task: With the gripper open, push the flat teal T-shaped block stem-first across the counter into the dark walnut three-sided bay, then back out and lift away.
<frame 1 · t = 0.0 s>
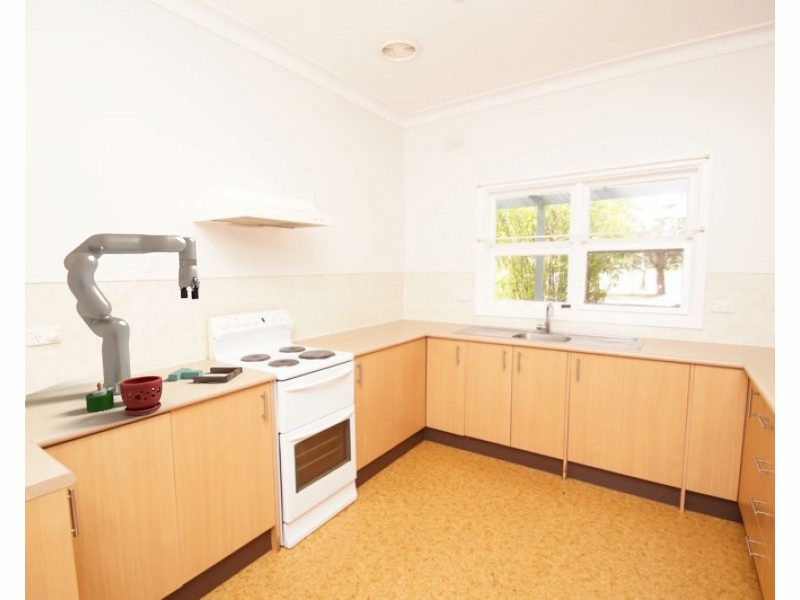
hand: (189, 298, 198), 37 cm above the countertop, tool pointing down, fingers open, 9 cm apart
plant pot: (134, 402, 160), on the countertop
plant pot 2: (143, 411, 150), on the countertop
candle: (100, 408, 153), on the countertop
walnut bay: (217, 377, 195), on the countertop
teal T-block: (188, 377, 195), on the countertop
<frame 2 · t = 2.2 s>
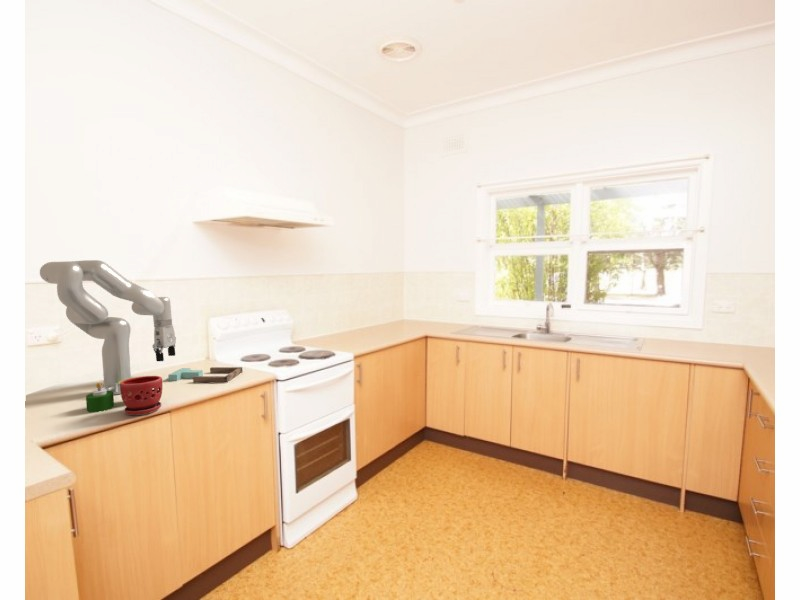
hand: (166, 358, 195), 9 cm above the countertop, tool pointing down, fingers open, 9 cm apart
nothing on the countertop moved.
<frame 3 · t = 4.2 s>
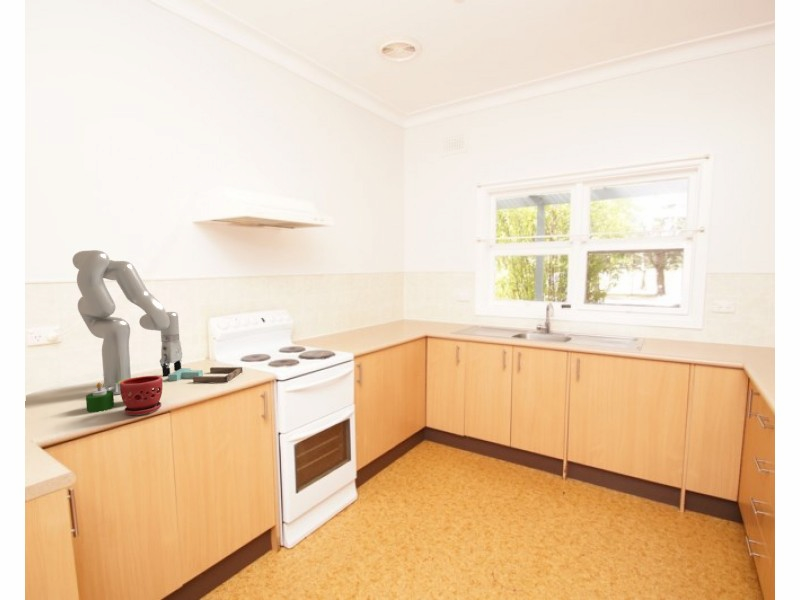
hand: (172, 373, 195), 2 cm above the countertop, tool pointing down, fingers open, 9 cm apart
teal T-block: (188, 377, 195), on the countertop, touching gripper
everything else where it was.
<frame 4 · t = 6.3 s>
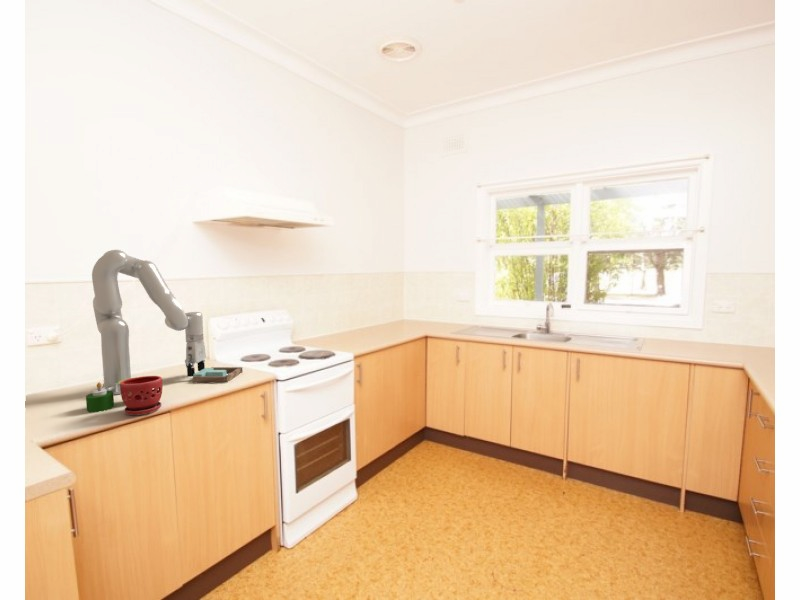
hand: (196, 373, 195), 2 cm above the countertop, tool pointing down, fingers open, 9 cm apart
teal T-block: (212, 377, 195), on the countertop, touching gripper
everything else where it was.
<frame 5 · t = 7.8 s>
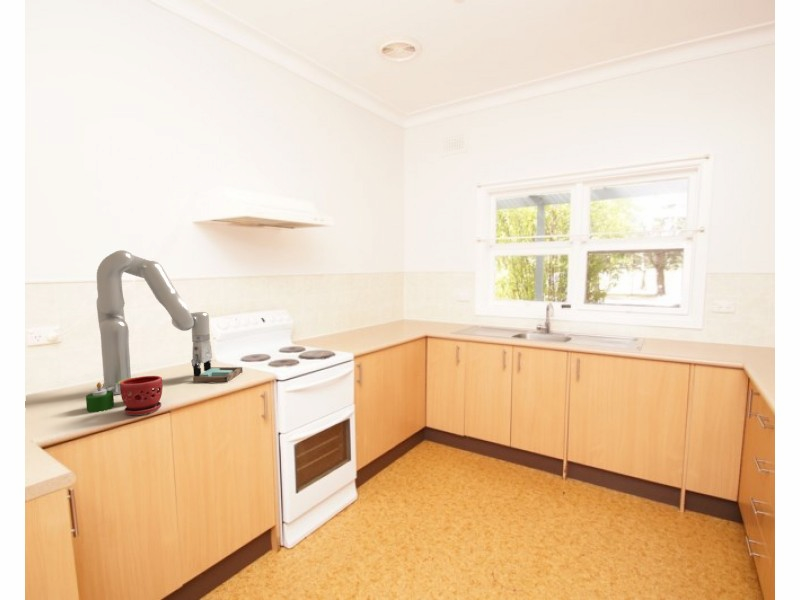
hand: (202, 373, 195), 2 cm above the countertop, tool pointing down, fingers open, 9 cm apart
teal T-block: (218, 377, 195), on the countertop
everything else where it was.
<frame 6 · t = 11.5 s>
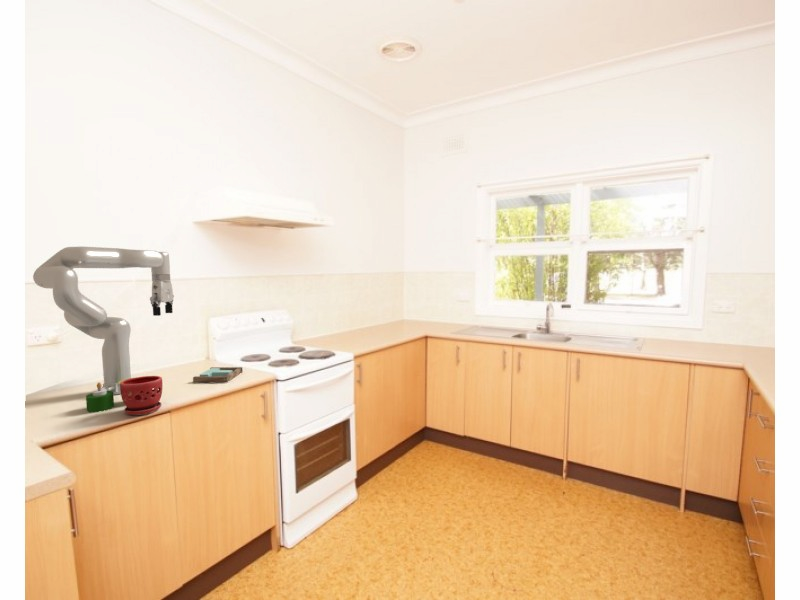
hand: (163, 314, 194), 30 cm above the countertop, tool pointing down, fingers open, 9 cm apart
nothing on the countertop moved.
at the end: teal T-block 0.1 cm off-centre on the walnut bay, point 0.0 cm above the walnut bay's base; teal T-block tilted 0° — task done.
